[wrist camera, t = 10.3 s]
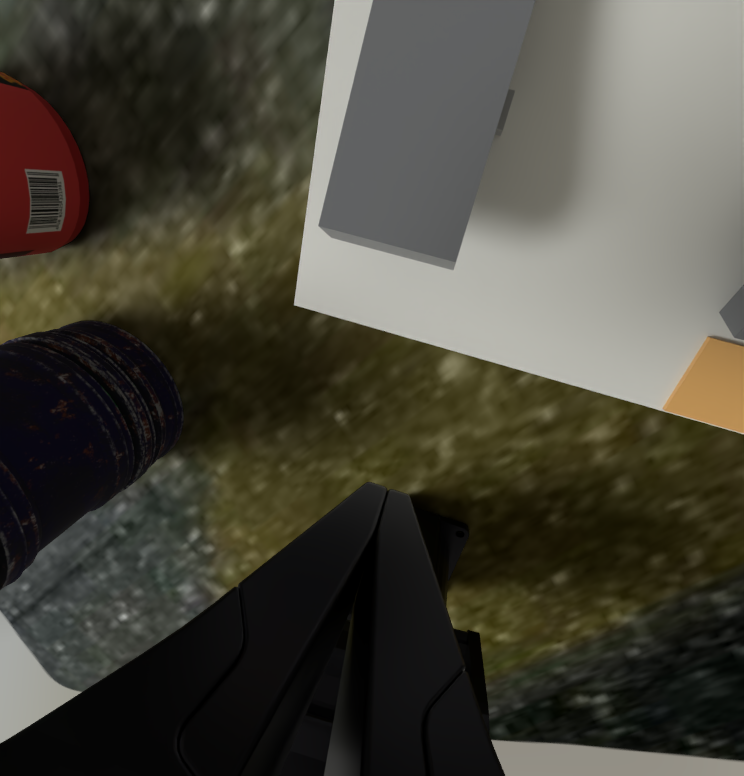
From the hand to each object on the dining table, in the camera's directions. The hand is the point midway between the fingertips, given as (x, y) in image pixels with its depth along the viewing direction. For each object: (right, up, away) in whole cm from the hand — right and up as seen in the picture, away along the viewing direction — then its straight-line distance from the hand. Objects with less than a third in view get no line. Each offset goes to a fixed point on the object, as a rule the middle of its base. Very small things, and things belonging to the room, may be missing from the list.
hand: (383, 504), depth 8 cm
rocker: (+1, +11, +3) cm, 11 cm away
